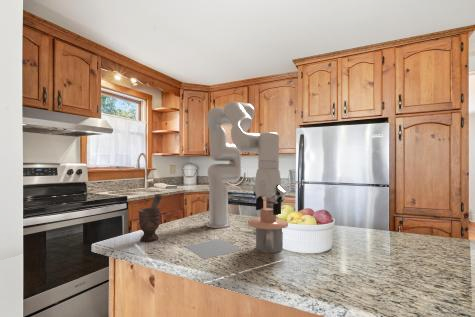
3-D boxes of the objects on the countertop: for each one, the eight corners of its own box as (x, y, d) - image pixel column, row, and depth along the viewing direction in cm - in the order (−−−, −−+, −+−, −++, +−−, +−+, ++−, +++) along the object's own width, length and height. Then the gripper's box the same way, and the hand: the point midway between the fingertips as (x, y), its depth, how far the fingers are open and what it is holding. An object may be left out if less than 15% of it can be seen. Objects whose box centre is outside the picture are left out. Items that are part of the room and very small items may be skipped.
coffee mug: (259, 244, 104) (259, 219, 104) (284, 247, 101) (284, 221, 101) (250, 255, 92) (250, 227, 92) (278, 259, 88) (278, 229, 88)
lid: (239, 222, 98) (239, 208, 98) (269, 217, 107) (269, 204, 107) (266, 231, 86) (266, 215, 86) (297, 225, 95) (297, 210, 95)
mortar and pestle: (170, 240, 109) (171, 192, 109) (157, 246, 101) (157, 194, 101) (148, 237, 113) (148, 191, 113) (133, 242, 105) (134, 193, 105)
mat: (184, 247, 100) (184, 245, 100) (220, 240, 109) (220, 238, 109) (203, 260, 87) (203, 258, 87) (242, 251, 96) (242, 249, 96)
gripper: (246, 165, 102) (245, 209, 102) (277, 166, 87) (276, 217, 87) (261, 165, 106) (260, 207, 106) (292, 166, 92) (292, 215, 92)
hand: (267, 211), depth 97 cm, fingers open, 9 cm apart
